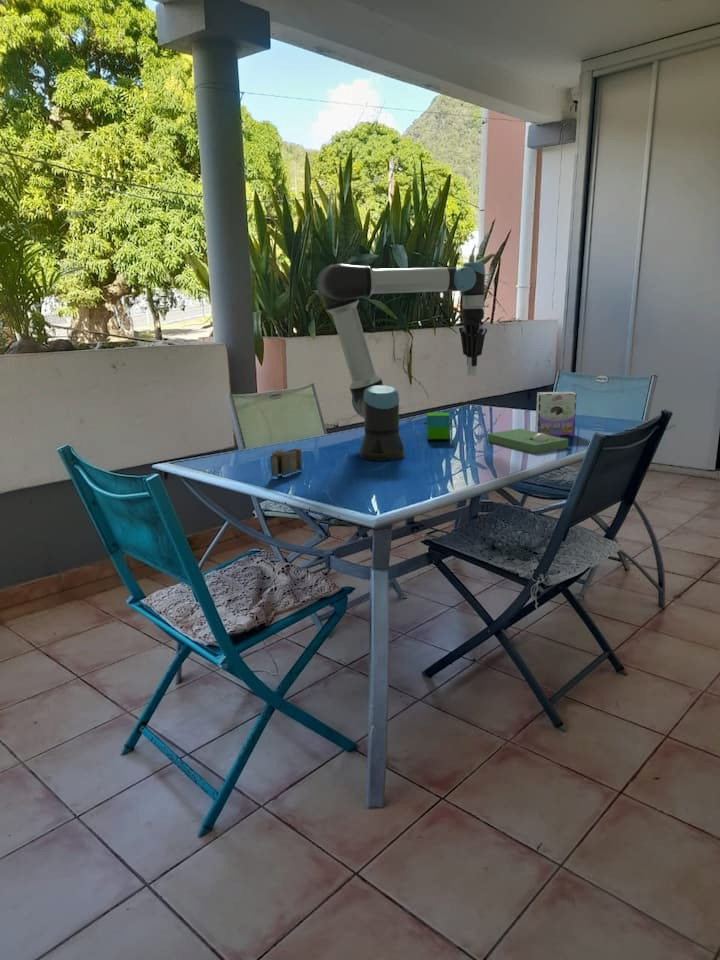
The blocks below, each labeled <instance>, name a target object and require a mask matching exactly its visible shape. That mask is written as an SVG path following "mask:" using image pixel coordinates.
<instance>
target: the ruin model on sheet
mask: <svg viewBox="0 0 720 960" xmlns="http://www.w3.org/2000/svg"><path fill="white" fill-rule="evenodd" d="M269 457H270V471H271V473H270V474H271V477H272V476H276V477H279V476H278V474H281V473H282V475H286V474H289V473H293V472H296V471H297V469H298V470H302V471H303V466H302V465H303V463H302V460H303V459H302V449H300V448H291V449H289V450H286V451H283V448H281V449H280V450H275V451H274V452H271V455H270V456H269ZM279 478H280V477H279Z"/></svg>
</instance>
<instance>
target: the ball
mask: <svg viewBox="0 0 720 960" xmlns="http://www.w3.org/2000/svg"><path fill="white" fill-rule="evenodd" d="M533 441H548V438H547V436H546V435H545V434H543V433H538V434H536V435H535V436H534V438H533Z"/></svg>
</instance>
